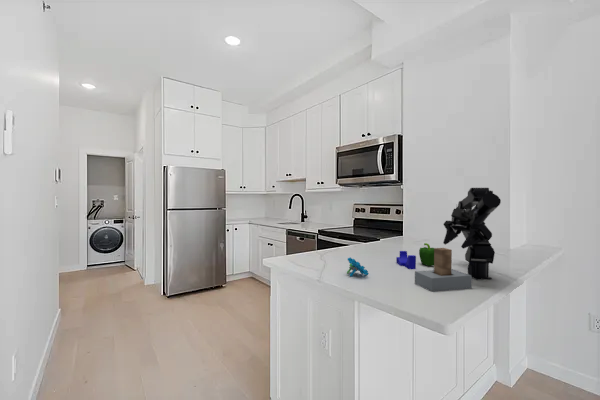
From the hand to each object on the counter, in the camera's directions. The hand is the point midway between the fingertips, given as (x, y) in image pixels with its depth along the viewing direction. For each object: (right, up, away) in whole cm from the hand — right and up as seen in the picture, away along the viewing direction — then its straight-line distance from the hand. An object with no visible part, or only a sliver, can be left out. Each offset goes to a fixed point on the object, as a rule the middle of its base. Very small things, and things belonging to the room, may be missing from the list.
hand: (452, 245), depth 112 cm
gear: (-35, -14, +8) cm, 38 cm away
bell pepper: (+3, -13, +27) cm, 30 cm away
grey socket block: (-7, -14, -5) cm, 16 cm away
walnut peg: (-7, -13, -5) cm, 15 cm away
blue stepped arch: (-9, -14, +25) cm, 30 cm away
